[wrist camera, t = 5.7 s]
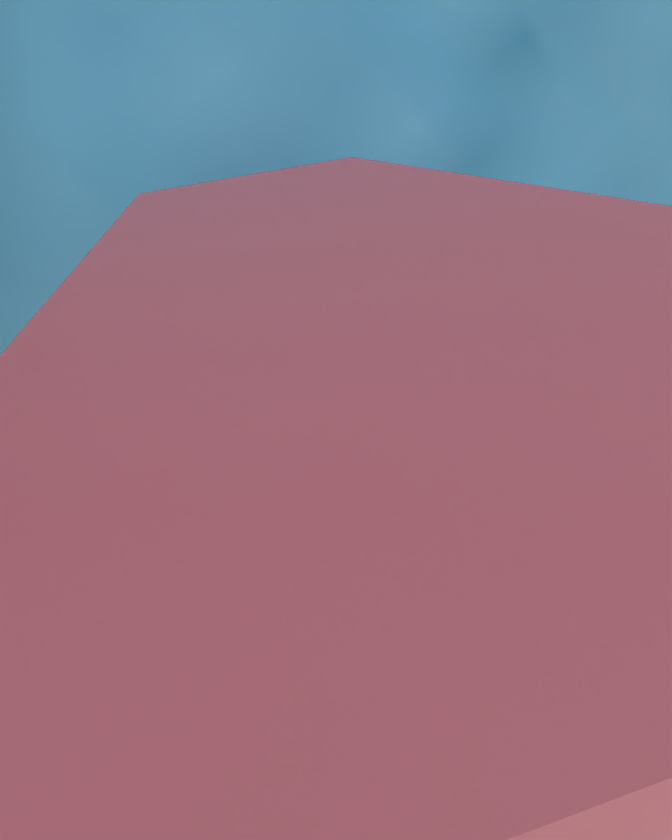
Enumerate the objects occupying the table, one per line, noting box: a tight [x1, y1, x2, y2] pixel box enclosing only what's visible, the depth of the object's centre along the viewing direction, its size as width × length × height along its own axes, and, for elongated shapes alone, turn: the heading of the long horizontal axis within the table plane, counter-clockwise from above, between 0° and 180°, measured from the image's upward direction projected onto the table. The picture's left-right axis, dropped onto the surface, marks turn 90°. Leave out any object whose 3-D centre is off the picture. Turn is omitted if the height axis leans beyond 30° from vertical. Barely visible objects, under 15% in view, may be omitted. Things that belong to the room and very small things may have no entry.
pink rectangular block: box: [0, 157, 672, 840], centre depth 10 cm, size 5×12×13 cm, turn 8°
